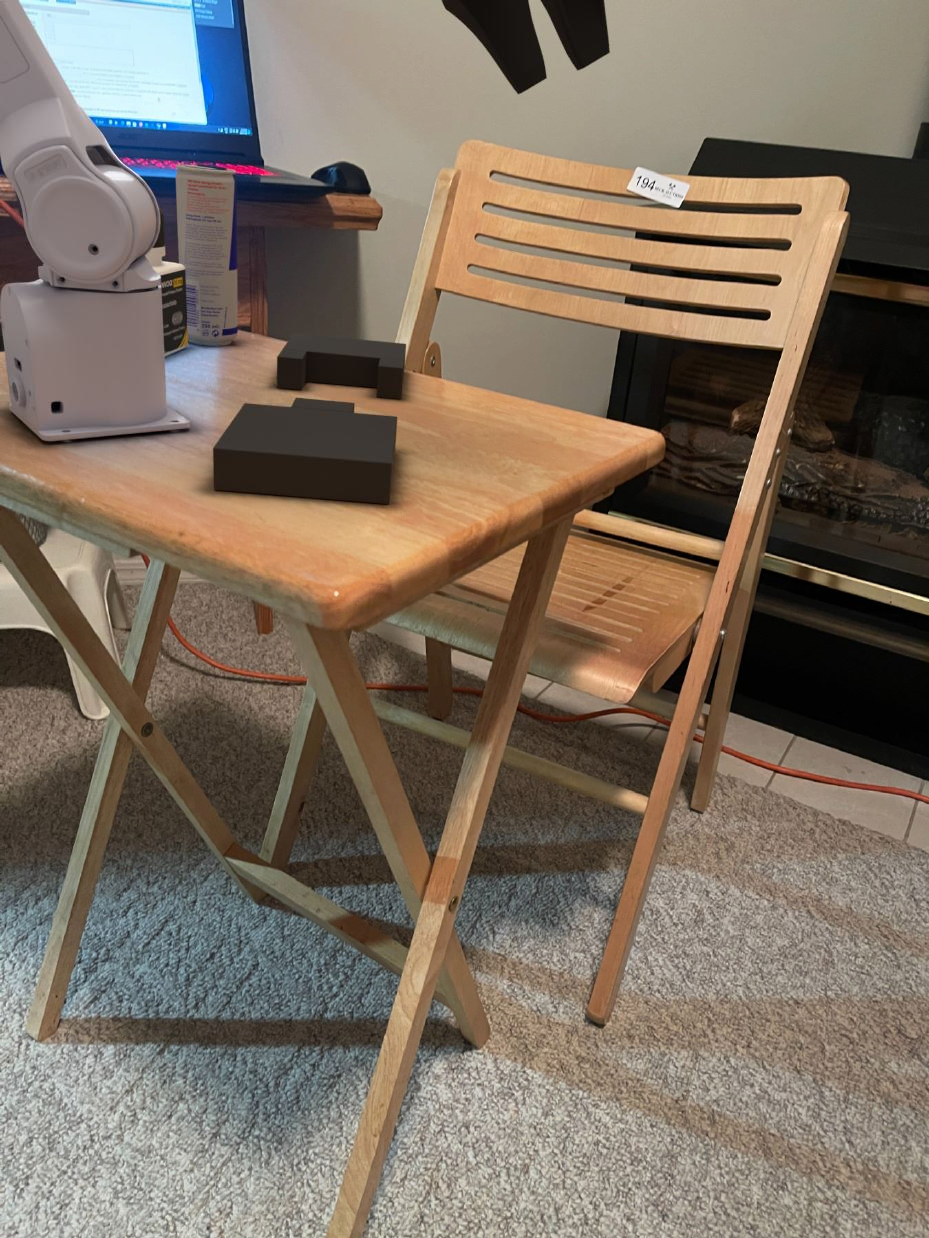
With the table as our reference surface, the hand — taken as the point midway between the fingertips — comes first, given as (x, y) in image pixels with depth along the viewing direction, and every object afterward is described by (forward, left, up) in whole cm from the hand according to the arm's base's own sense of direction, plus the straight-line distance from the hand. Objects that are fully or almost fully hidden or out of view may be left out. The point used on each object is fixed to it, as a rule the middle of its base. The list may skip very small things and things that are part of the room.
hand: (561, 75), depth 57 cm
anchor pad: (-2, +20, -23) cm, 31 cm away
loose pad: (-16, +1, -23) cm, 28 cm away
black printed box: (-15, +34, -23) cm, 44 cm away
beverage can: (-7, +36, -23) cm, 43 cm away
